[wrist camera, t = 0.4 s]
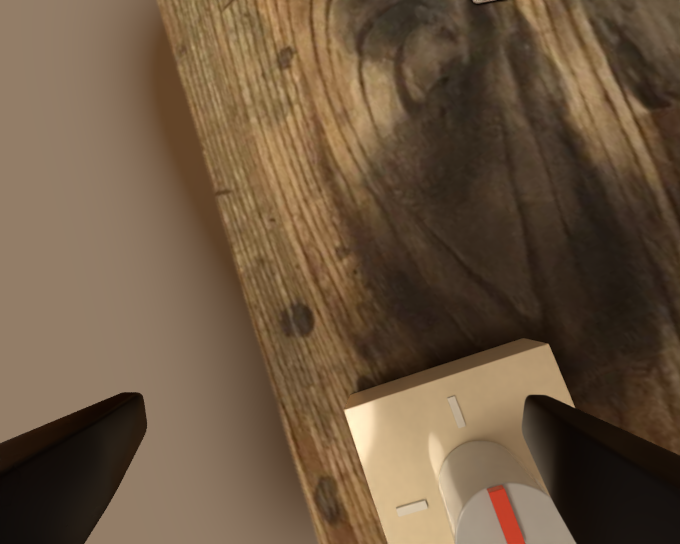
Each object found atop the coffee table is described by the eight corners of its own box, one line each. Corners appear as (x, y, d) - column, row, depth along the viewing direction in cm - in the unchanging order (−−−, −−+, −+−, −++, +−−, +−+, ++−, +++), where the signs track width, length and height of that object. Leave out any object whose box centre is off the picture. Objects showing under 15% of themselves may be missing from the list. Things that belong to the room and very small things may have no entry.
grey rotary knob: (545, 519, 16) (605, 599, 11) (457, 544, 16) (483, 630, 12) (510, 428, 16) (554, 472, 12) (425, 454, 17) (439, 506, 12)
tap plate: (601, 529, 18) (647, 575, 15) (411, 580, 19) (417, 635, 16) (523, 337, 19) (550, 343, 16) (349, 394, 20) (342, 410, 17)
